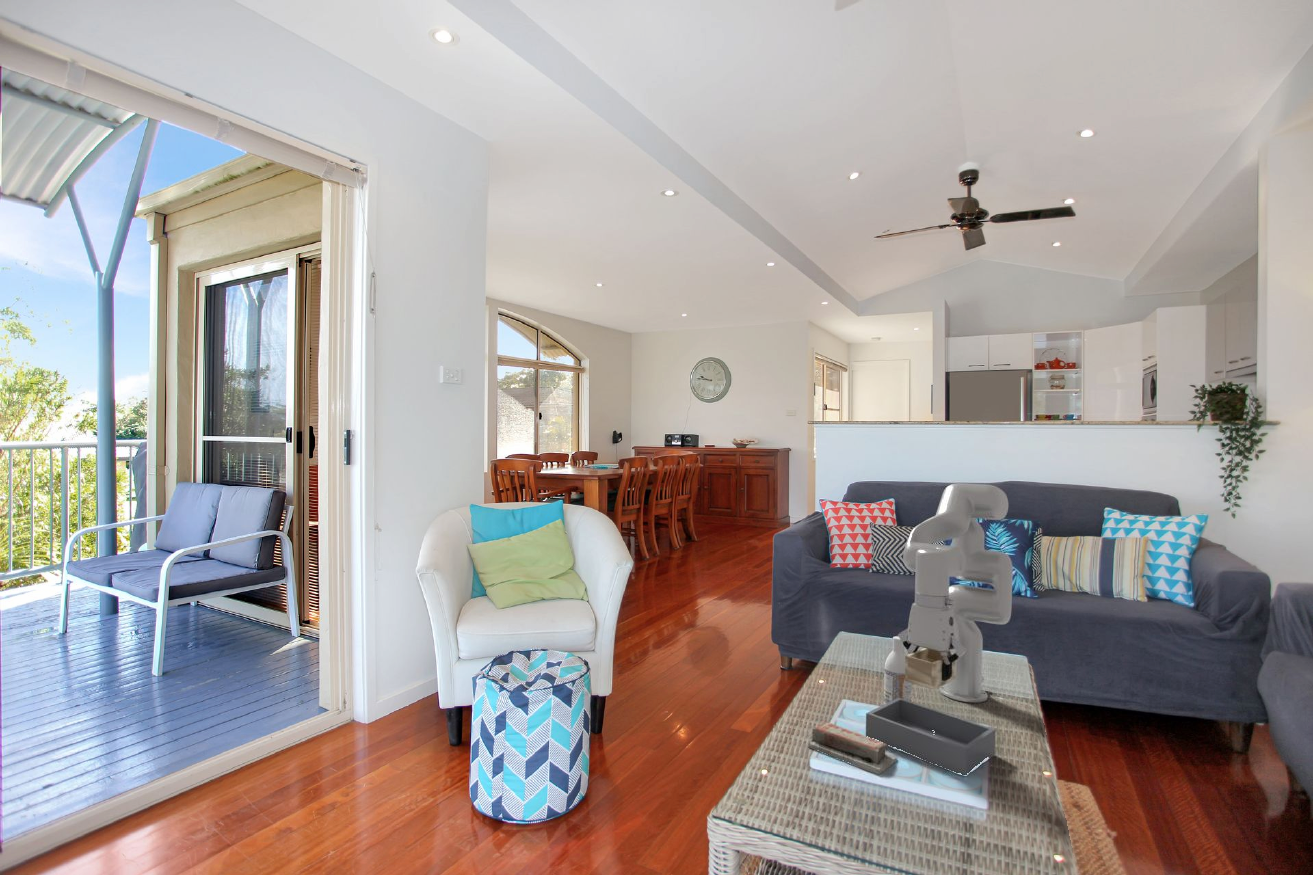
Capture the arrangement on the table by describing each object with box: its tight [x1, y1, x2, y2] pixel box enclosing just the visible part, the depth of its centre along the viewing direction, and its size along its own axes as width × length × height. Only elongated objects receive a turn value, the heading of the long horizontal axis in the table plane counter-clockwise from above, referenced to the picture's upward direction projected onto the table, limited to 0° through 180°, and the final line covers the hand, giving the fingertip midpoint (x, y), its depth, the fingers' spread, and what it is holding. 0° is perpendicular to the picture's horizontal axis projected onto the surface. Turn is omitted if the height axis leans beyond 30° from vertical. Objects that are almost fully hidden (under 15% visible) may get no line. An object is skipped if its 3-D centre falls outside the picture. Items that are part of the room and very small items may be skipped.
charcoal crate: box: [865, 698, 996, 775], centre depth 155 cm, size 16×24×6 cm, turn 41°
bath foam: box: [883, 635, 913, 705], centre depth 175 cm, size 7×7×20 cm
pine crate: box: [905, 648, 955, 691], centre depth 155 cm, size 11×7×6 cm, turn 131°
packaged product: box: [807, 721, 898, 775], centre depth 150 cm, size 18×5×10 cm
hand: (930, 674), depth 155 cm, fingers closed on pine crate, 7 cm apart
